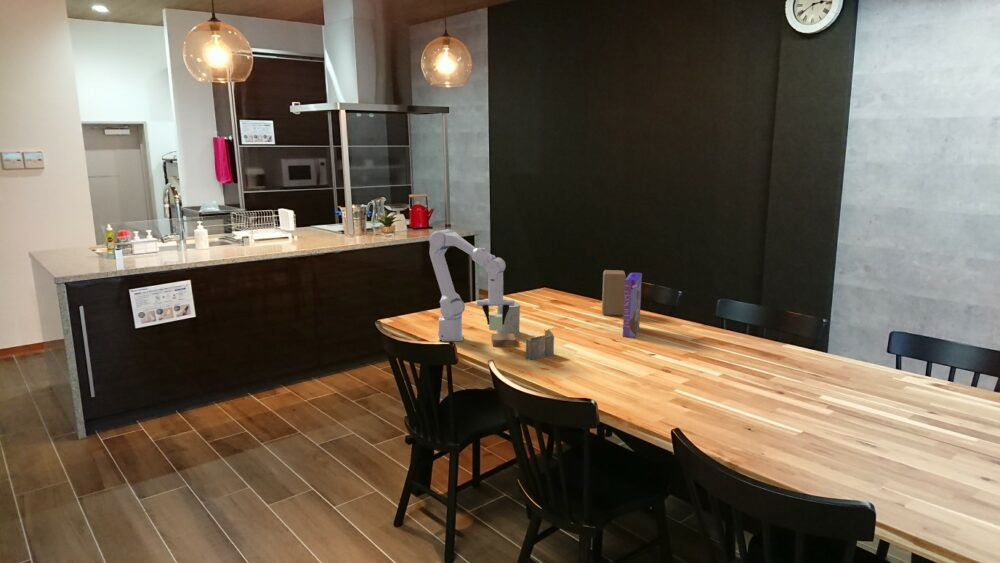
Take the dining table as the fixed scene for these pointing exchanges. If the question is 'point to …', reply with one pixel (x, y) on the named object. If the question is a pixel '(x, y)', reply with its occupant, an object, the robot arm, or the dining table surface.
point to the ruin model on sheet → (540, 346)
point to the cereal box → (632, 304)
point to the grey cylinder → (510, 320)
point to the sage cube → (495, 321)
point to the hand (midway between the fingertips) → (495, 323)
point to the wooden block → (613, 292)
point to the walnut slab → (504, 339)
